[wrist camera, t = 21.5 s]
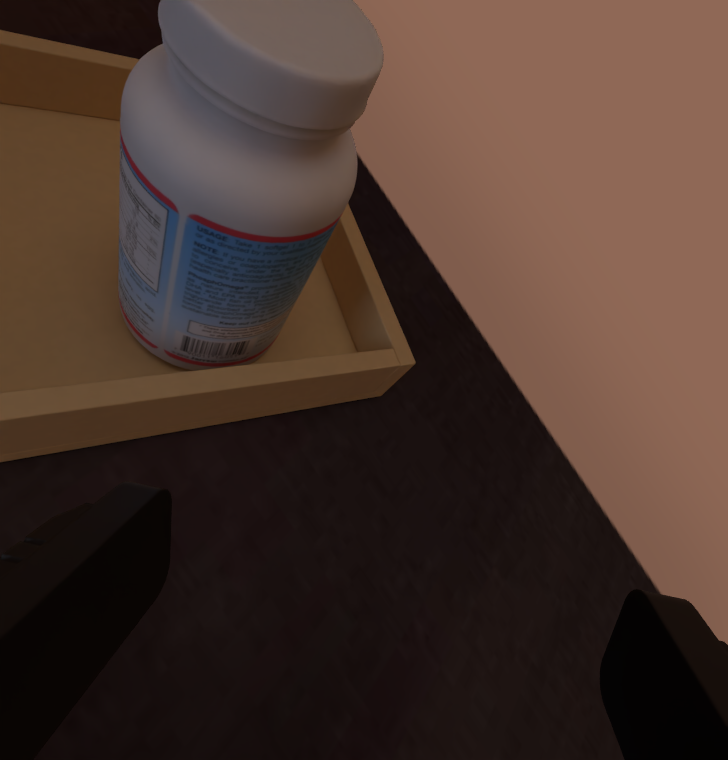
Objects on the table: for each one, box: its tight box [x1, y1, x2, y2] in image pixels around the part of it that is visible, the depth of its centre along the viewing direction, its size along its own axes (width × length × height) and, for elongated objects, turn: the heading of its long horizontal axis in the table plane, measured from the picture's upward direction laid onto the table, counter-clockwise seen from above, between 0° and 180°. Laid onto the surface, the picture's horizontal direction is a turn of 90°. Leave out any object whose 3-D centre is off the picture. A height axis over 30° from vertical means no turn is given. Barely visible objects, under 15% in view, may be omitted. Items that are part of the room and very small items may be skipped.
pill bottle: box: [118, 0, 384, 371], centre depth 14 cm, size 6×6×11 cm
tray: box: [0, 30, 416, 462], centre depth 18 cm, size 18×16×3 cm
